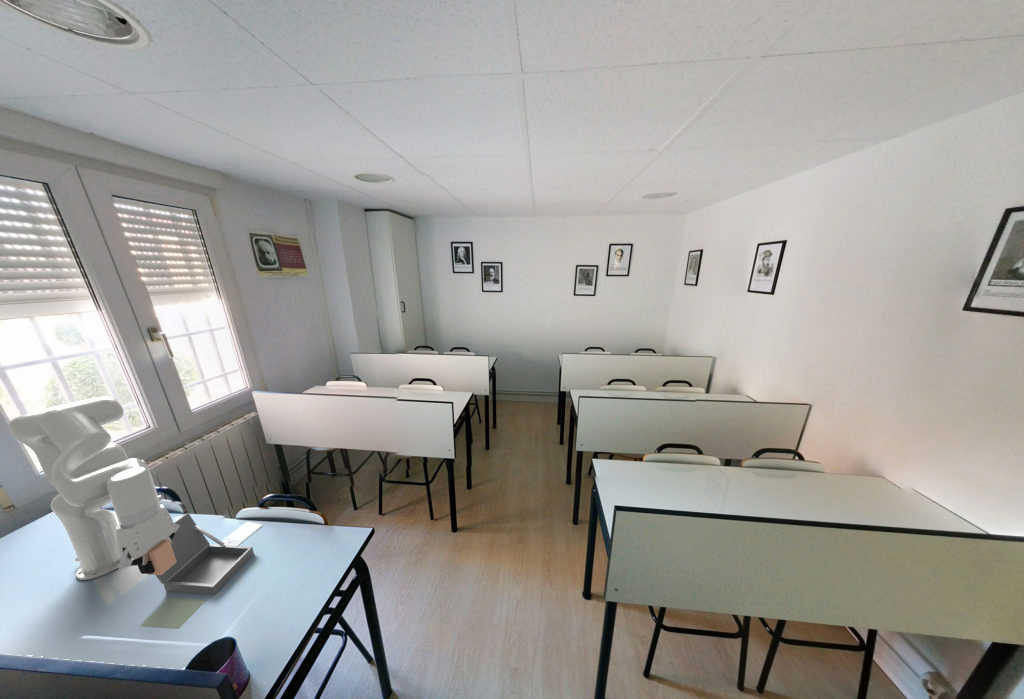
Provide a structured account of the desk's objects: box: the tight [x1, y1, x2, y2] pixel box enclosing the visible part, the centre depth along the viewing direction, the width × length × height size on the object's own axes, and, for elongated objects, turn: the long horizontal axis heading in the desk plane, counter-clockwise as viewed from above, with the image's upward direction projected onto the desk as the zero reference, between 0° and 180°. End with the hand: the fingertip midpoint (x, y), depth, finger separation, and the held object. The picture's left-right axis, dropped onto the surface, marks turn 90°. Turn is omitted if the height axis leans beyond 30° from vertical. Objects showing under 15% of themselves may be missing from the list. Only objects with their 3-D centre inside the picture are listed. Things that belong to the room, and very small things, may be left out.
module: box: [140, 540, 177, 576], centre depth 88 cm, size 6×4×8 cm, turn 88°
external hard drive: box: [216, 521, 264, 546], centre depth 121 cm, size 2×8×12 cm
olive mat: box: [139, 597, 207, 629], centre depth 94 cm, size 12×8×1 cm, turn 88°
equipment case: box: [155, 513, 255, 596], centre depth 104 cm, size 22×15×17 cm
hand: (157, 564), depth 89 cm, fingers closed on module, 4 cm apart
